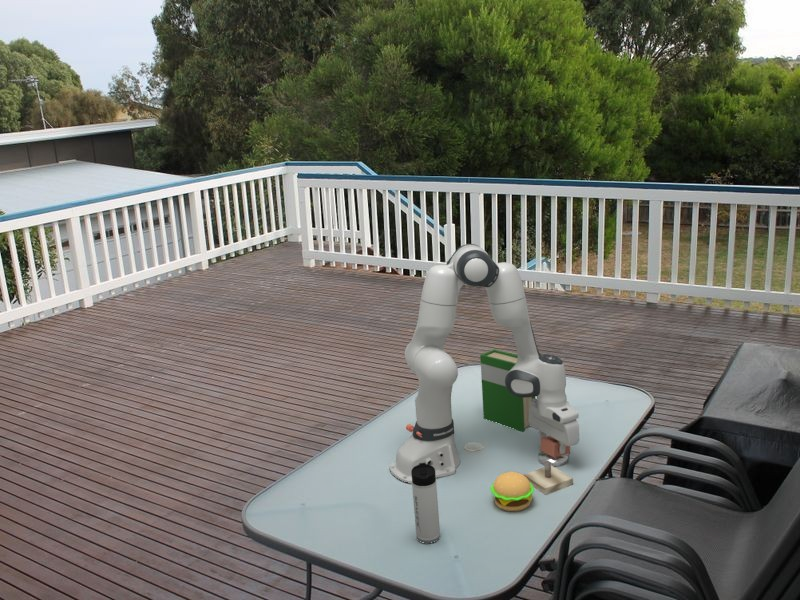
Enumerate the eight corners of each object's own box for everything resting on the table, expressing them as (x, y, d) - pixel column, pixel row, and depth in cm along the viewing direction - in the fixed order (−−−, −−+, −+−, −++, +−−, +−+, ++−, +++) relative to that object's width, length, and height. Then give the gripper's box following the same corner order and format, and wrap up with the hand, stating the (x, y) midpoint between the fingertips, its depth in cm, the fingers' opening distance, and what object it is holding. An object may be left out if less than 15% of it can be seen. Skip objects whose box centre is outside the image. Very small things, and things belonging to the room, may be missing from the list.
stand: (545, 494, 210) (544, 474, 209) (524, 480, 219) (523, 460, 217) (572, 484, 215) (572, 464, 213) (550, 470, 223) (550, 451, 222)
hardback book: (536, 424, 255) (534, 359, 249) (522, 432, 250) (520, 365, 244) (497, 411, 268) (494, 349, 262) (483, 418, 263) (480, 355, 257)
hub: (551, 469, 224) (550, 458, 223) (532, 458, 232) (532, 447, 231) (574, 461, 228) (573, 449, 227) (555, 450, 236) (554, 439, 235)
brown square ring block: (553, 457, 226) (554, 445, 225) (540, 449, 231) (540, 437, 230) (569, 453, 228) (570, 441, 228) (556, 446, 234) (556, 434, 233)
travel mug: (439, 529, 198) (434, 461, 193) (441, 543, 192) (436, 473, 186) (415, 531, 198) (410, 463, 193) (417, 545, 192) (411, 475, 186)
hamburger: (541, 510, 203) (540, 481, 201) (499, 517, 201) (497, 489, 199) (525, 489, 215) (524, 462, 212) (485, 496, 212) (484, 469, 210)
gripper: (522, 399, 233) (524, 439, 237) (565, 420, 215) (567, 463, 219) (538, 394, 236) (540, 433, 239) (582, 414, 218) (583, 457, 222)
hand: (553, 448), depth 229 cm, fingers closed on brown square ring block, 6 cm apart
